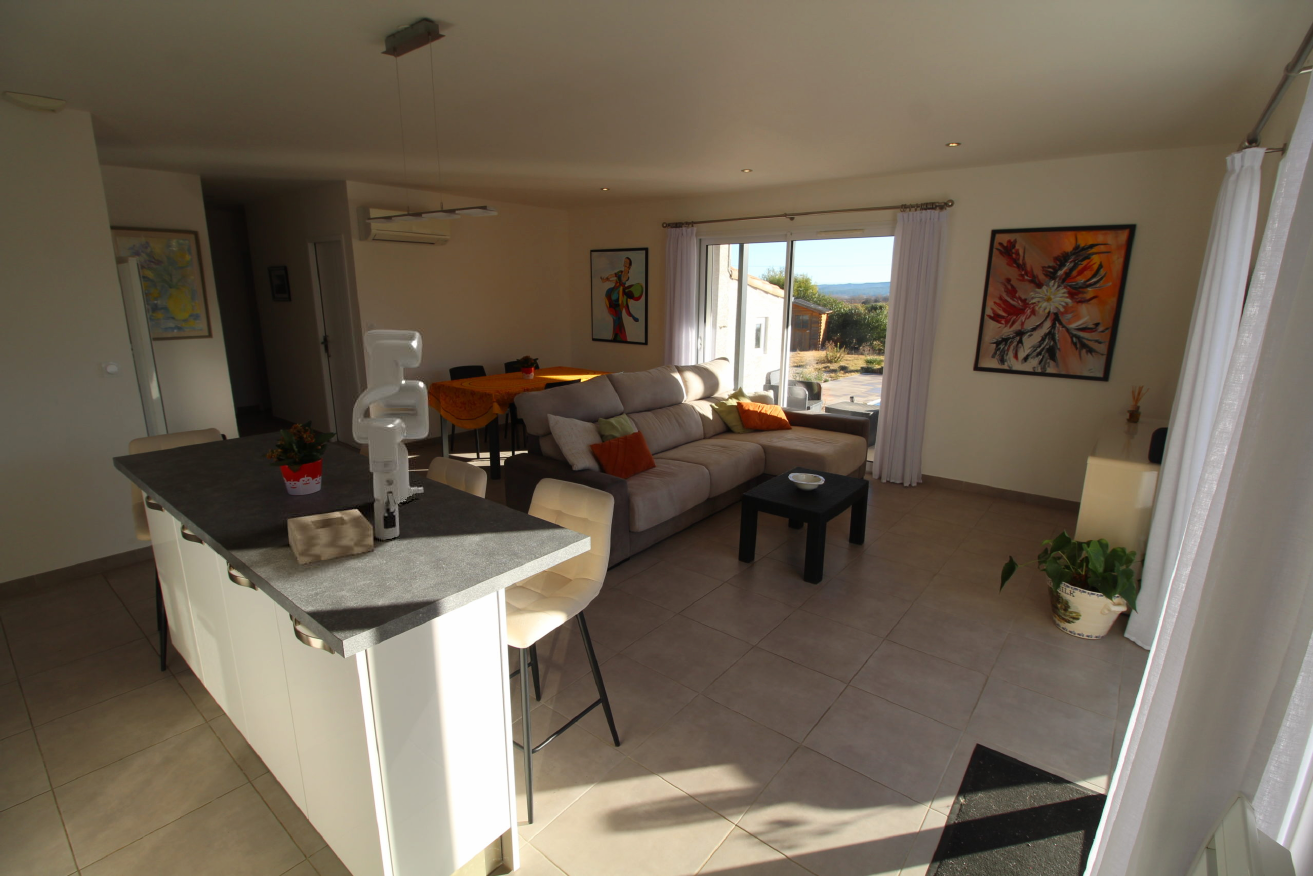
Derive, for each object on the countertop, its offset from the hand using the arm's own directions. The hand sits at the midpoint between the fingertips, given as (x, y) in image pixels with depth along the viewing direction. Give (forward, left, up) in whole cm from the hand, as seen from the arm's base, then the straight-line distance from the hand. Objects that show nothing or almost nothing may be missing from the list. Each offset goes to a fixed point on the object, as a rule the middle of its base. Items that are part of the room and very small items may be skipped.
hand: (386, 524), depth 179 cm
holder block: (+15, 0, -4) cm, 16 cm away
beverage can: (0, 0, -4) cm, 4 cm away
